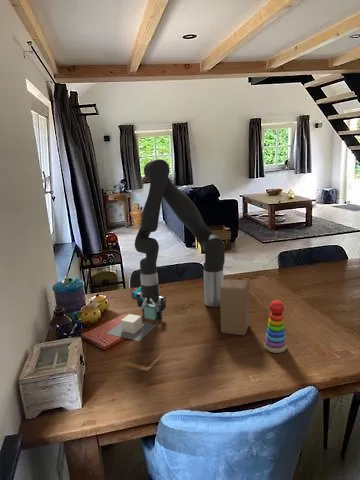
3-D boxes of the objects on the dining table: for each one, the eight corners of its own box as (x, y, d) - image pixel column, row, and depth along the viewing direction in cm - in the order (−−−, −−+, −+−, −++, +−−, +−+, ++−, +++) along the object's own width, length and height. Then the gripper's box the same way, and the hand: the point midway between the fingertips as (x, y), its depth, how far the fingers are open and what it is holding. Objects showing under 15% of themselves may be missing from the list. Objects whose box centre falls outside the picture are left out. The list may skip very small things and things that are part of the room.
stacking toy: (282, 356, 129) (283, 307, 124) (261, 350, 133) (261, 303, 128) (289, 345, 135) (290, 298, 131) (268, 340, 140) (268, 295, 135)
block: (249, 324, 152) (249, 279, 147) (245, 336, 143) (245, 289, 138) (225, 322, 155) (224, 278, 150) (220, 333, 146) (219, 287, 141)
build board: (157, 326, 155) (157, 324, 154) (139, 343, 143) (139, 341, 142) (126, 320, 162) (126, 318, 161) (106, 335, 150) (106, 333, 150)
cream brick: (142, 327, 153) (141, 316, 152) (134, 333, 148) (133, 322, 147) (130, 324, 156) (129, 313, 155) (122, 331, 151) (120, 320, 149)
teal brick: (160, 317, 163) (159, 304, 162) (154, 322, 159) (153, 309, 158) (150, 315, 166) (149, 303, 164) (144, 320, 161) (143, 307, 160)
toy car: (148, 290, 194) (147, 278, 192) (165, 302, 179) (164, 289, 178) (130, 295, 189) (128, 283, 187) (145, 308, 174) (144, 295, 172)
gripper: (168, 280, 158) (170, 315, 162) (140, 277, 164) (143, 310, 169) (159, 287, 151) (162, 323, 156) (130, 283, 158) (134, 318, 162)
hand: (152, 316), depth 162 cm, fingers open, 6 cm apart
